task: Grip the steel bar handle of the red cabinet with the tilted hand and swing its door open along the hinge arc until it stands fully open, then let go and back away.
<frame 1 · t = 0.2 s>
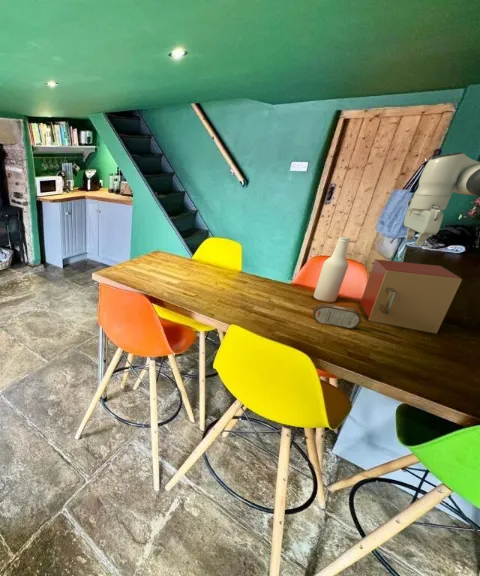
hand: (413, 242, 110), 33 cm above the worktop, tool pointing down, fingers open, 8 cm apart
alcohol: (323, 300, 143), on the worktop
red cabinet: (393, 318, 125), on the worktop
door: (413, 304, 112), point 11 cm above the worktop, hinge at 0.0°
tin: (332, 326, 119), on the worktop
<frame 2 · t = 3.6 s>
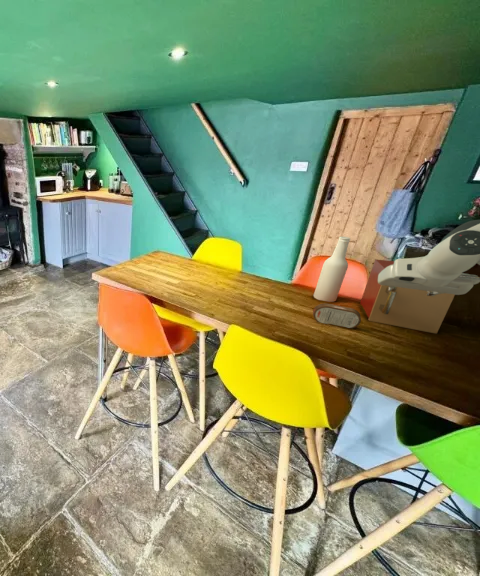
hand: (410, 291, 100), 20 cm above the worktop, tool tilted 45°, fingers open, 8 cm apart
nothing on the worktop moved.
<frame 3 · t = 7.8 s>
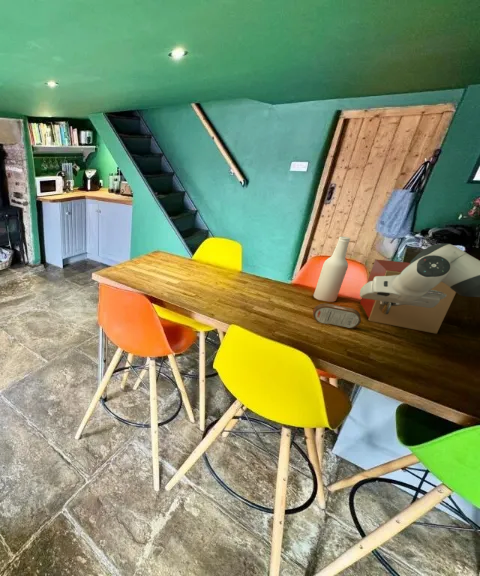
hand: (388, 303, 114), 10 cm above the worktop, tool tilted 45°, fingers closed on door, 2 cm apart
door: (413, 304, 112), point 11 cm above the worktop, hinge at 0.0°, touching gripper
everything else where it was.
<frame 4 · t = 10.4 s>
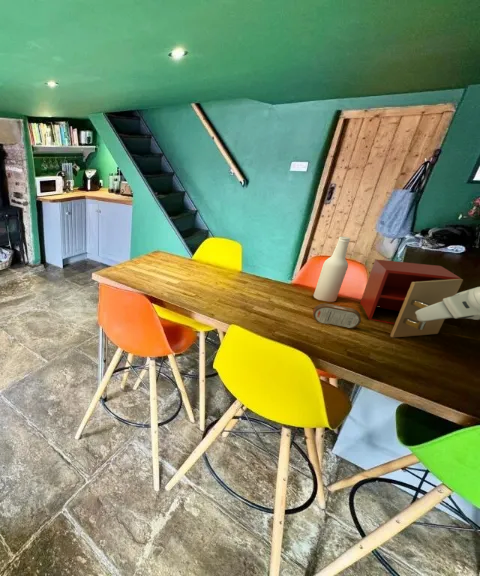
hand: (422, 318, 103), 10 cm above the worktop, tool tilted 45°, fingers closed on door, 2 cm apart
door: (434, 312, 105), point 11 cm above the worktop, hinge at 38.1°, touching gripper
everything else where it was.
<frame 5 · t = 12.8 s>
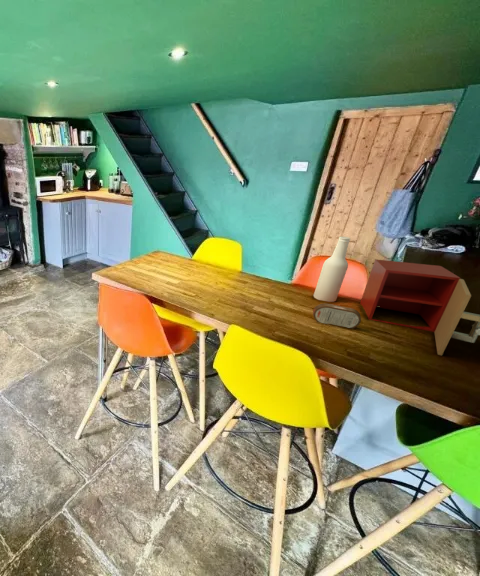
hand: (474, 330, 95), 10 cm above the worktop, tool tilted 45°, fingers closed on door, 2 cm apart
door: (462, 318, 101), point 11 cm above the worktop, hinge at 75.2°, touching gripper
everything else where it was.
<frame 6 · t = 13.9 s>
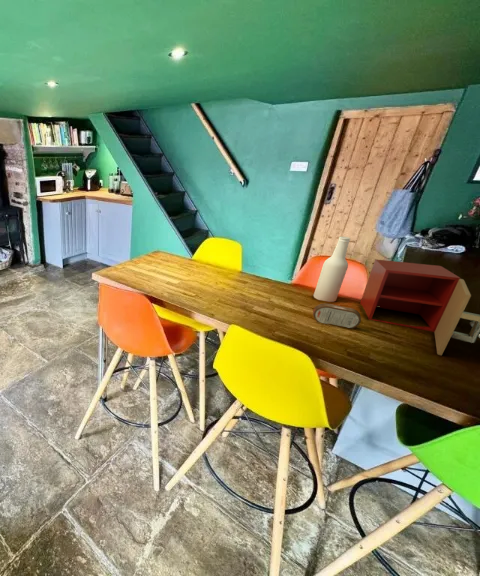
hand: (475, 331, 95), 10 cm above the worktop, tool tilted 45°, fingers open, 8 cm apart
door: (462, 318, 101), point 11 cm above the worktop, hinge at 75.1°
everything else where it was.
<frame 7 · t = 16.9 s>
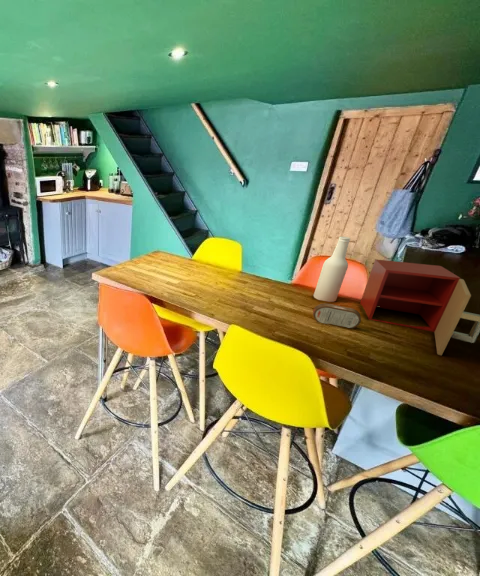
nothing on the worktop moved.
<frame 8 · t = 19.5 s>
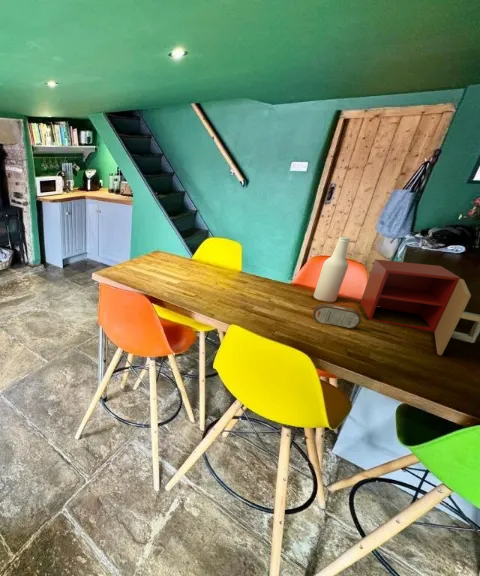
nothing on the worktop moved.
at the end: door at +75° (first picture: +0°); the gripper is holding nothing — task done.
